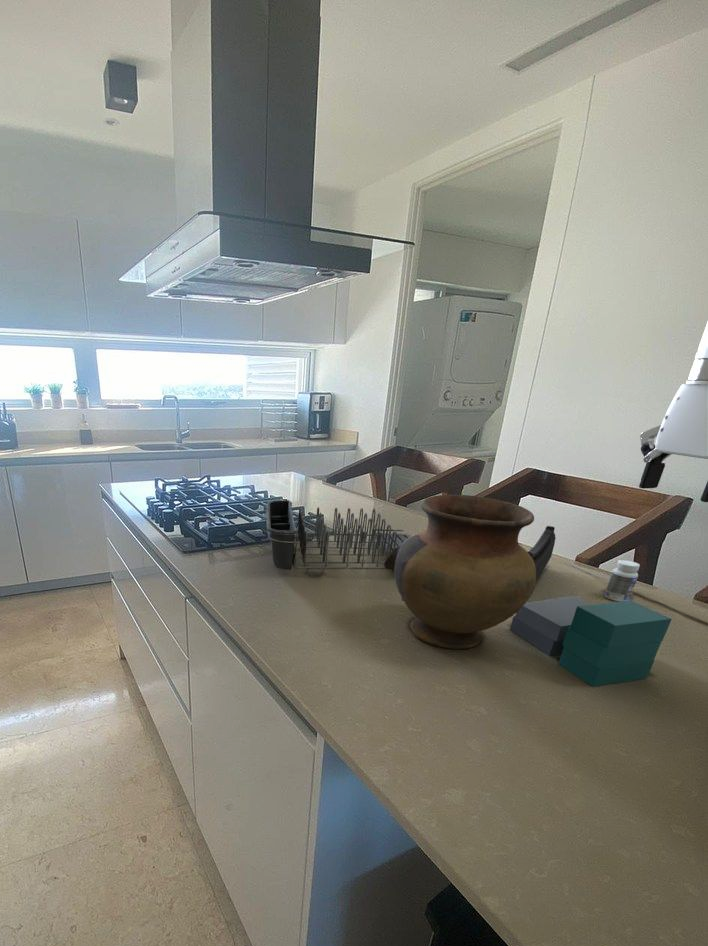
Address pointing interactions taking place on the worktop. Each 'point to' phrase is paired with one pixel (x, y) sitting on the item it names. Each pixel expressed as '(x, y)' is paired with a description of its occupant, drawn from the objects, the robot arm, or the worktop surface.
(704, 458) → the robot arm
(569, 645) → the teal stack
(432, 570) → the pot
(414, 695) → the worktop surface
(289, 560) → the dish rack
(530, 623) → the grey stack
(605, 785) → the worktop surface
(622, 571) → the pill bottle
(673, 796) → the worktop surface
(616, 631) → the teal block
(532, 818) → the worktop surface
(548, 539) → the magazine
